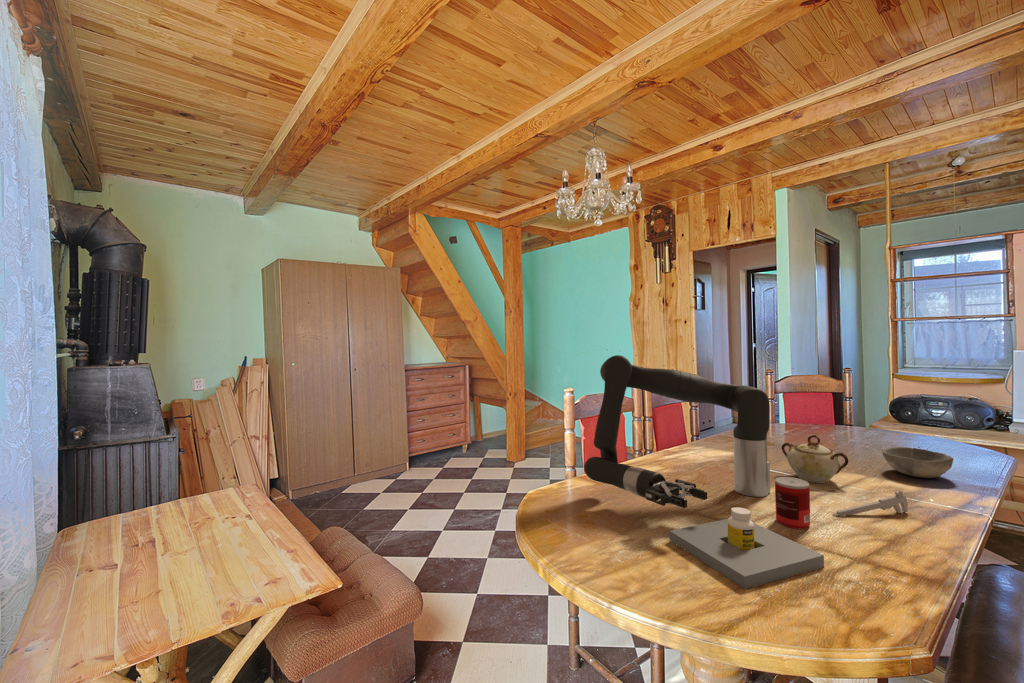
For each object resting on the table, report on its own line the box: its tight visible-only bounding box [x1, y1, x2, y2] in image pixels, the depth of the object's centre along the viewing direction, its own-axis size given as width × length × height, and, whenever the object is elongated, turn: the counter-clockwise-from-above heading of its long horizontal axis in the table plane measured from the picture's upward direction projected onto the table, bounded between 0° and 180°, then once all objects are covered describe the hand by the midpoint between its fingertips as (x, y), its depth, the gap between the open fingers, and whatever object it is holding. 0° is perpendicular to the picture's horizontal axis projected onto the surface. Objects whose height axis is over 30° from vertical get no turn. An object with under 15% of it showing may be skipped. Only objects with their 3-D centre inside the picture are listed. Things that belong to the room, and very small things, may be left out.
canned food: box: [774, 476, 811, 530], centre depth 115 cm, size 8×8×11 cm
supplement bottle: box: [727, 507, 755, 551], centre depth 100 cm, size 5×5×10 cm
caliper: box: [832, 490, 909, 517], centre depth 119 cm, size 20×1×6 cm, turn 92°
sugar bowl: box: [781, 434, 849, 484], centre depth 148 cm, size 20×15×15 cm
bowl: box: [881, 446, 954, 479], centre depth 149 cm, size 18×18×8 cm
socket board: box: [669, 518, 825, 590], centre depth 100 cm, size 22×22×2 cm
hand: (696, 499), depth 109 cm, fingers open, 8 cm apart
